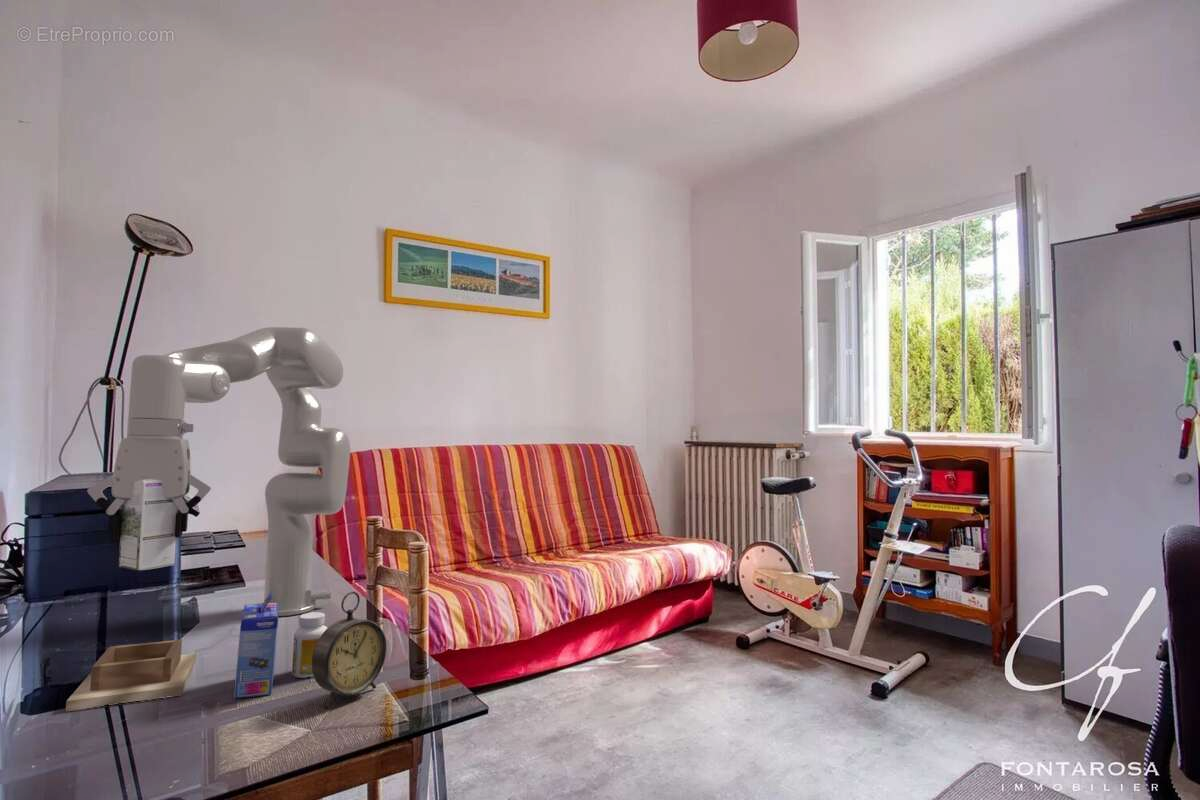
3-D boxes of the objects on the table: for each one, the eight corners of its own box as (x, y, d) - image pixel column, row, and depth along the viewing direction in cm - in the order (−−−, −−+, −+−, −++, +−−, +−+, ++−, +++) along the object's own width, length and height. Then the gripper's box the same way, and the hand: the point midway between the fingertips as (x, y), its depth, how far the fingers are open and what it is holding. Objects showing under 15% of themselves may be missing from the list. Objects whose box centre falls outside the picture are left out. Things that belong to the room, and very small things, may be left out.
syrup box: (176, 565, 102) (181, 477, 103) (136, 571, 97) (143, 478, 98) (155, 561, 105) (161, 475, 106) (115, 567, 99) (122, 477, 100)
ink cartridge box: (274, 695, 97) (279, 600, 98) (233, 701, 94) (239, 604, 95) (274, 673, 106) (279, 587, 107) (237, 678, 103) (242, 590, 104)
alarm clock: (325, 714, 91) (331, 601, 92) (303, 705, 93) (309, 595, 95) (386, 689, 100) (391, 587, 101) (364, 682, 103) (369, 582, 104)
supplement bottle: (333, 669, 108) (336, 612, 108) (309, 680, 103) (312, 621, 103) (309, 665, 110) (312, 609, 110) (284, 676, 104) (287, 617, 105)
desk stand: (196, 661, 110) (197, 633, 110) (181, 696, 96) (183, 662, 96) (97, 673, 104) (99, 642, 104) (65, 711, 89) (68, 676, 90)
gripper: (219, 431, 109) (213, 532, 108) (96, 428, 102) (87, 536, 101) (214, 431, 103) (207, 538, 102) (82, 428, 95) (73, 544, 94)
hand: (148, 537), depth 101 cm, fingers closed on syrup box, 7 cm apart
